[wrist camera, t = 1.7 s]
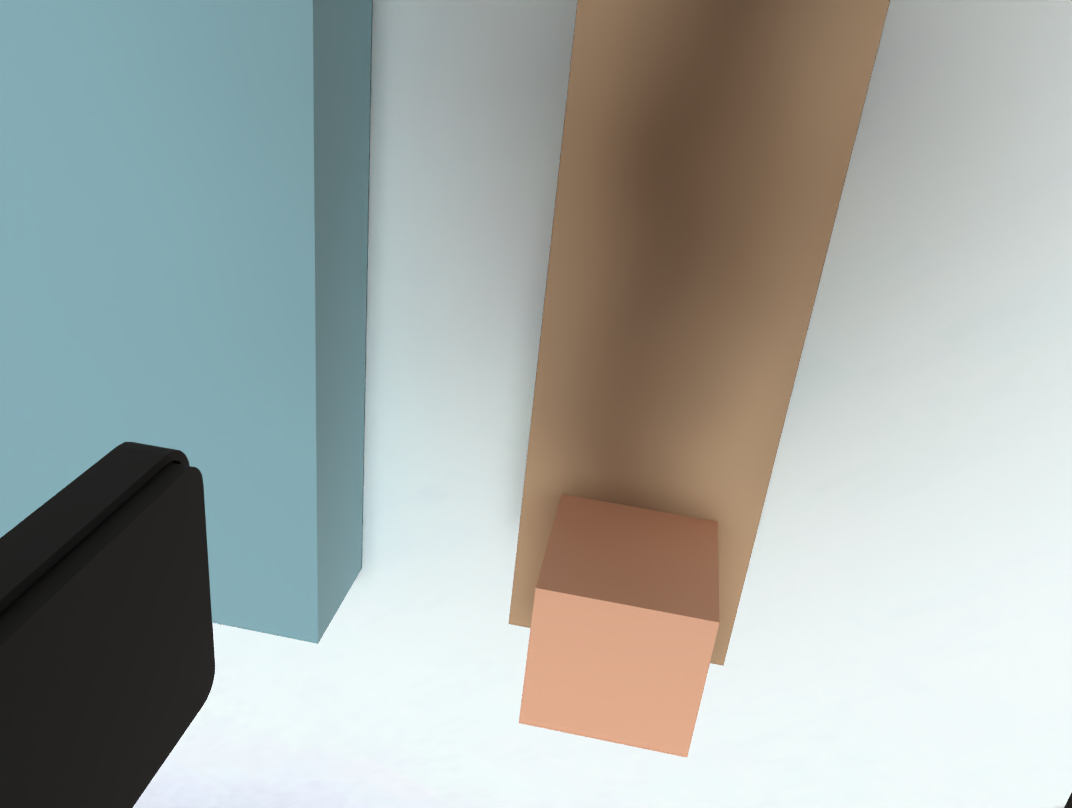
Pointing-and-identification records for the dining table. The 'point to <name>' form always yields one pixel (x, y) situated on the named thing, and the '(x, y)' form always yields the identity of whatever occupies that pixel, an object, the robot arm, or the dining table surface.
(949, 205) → the dining table surface
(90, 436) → the block
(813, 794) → the dining table surface
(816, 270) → the pallet
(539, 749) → the dining table surface
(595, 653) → the pink cube
